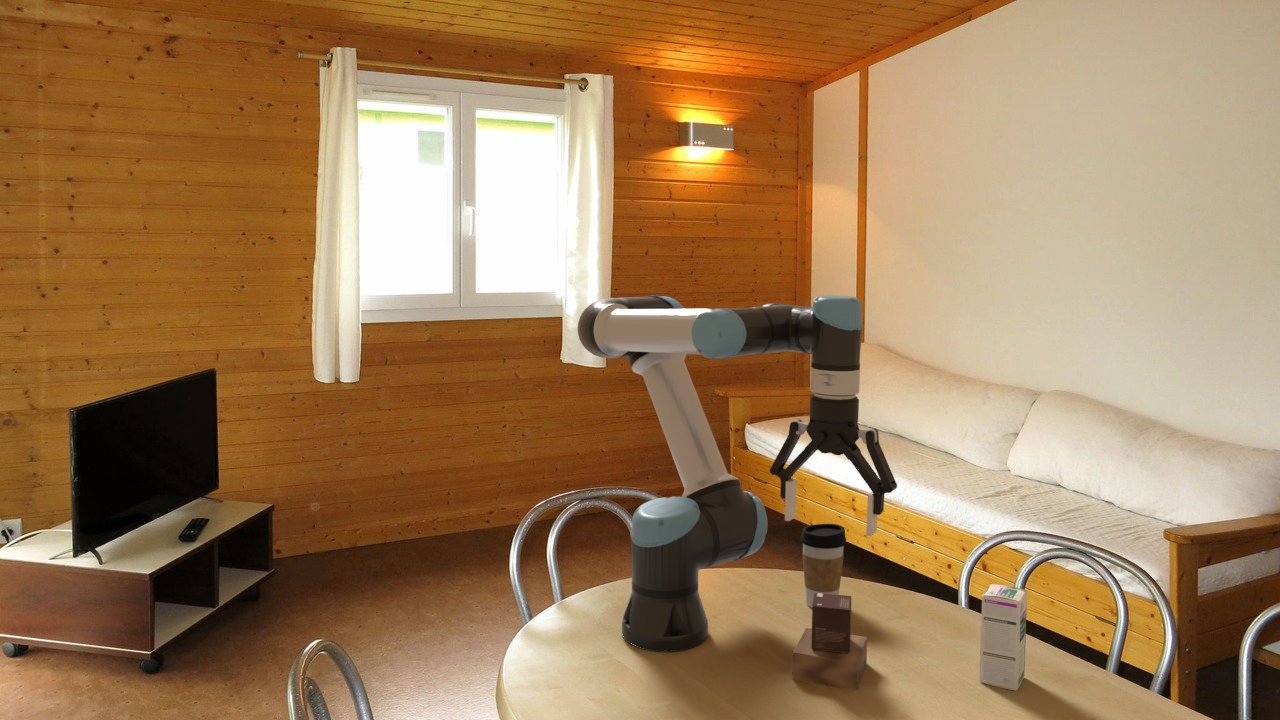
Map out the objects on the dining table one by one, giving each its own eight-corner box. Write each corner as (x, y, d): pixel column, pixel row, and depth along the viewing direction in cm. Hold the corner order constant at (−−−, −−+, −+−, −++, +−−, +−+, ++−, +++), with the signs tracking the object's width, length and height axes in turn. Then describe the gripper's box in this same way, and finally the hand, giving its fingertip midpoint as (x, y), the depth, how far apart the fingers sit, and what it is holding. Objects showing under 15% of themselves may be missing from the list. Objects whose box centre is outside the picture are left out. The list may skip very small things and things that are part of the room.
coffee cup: (848, 613, 172) (850, 534, 171) (803, 612, 173) (804, 534, 171) (839, 595, 181) (841, 521, 179) (796, 595, 181) (797, 521, 179)
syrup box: (1017, 692, 142) (1022, 601, 140) (977, 682, 145) (981, 593, 143) (1024, 677, 147) (1029, 589, 145) (985, 668, 150) (989, 582, 148)
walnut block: (792, 682, 146) (792, 652, 146) (805, 656, 156) (806, 627, 155) (856, 693, 143) (857, 662, 142) (866, 666, 152) (867, 637, 151)
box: (849, 654, 145) (851, 609, 144) (810, 650, 146) (811, 606, 146) (850, 638, 151) (852, 595, 150) (813, 635, 152) (814, 592, 151)
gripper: (751, 390, 149) (748, 518, 152) (906, 407, 136) (900, 547, 138) (771, 384, 155) (767, 507, 158) (921, 399, 142) (914, 533, 145)
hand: (829, 526), depth 148 cm, fingers open, 13 cm apart
